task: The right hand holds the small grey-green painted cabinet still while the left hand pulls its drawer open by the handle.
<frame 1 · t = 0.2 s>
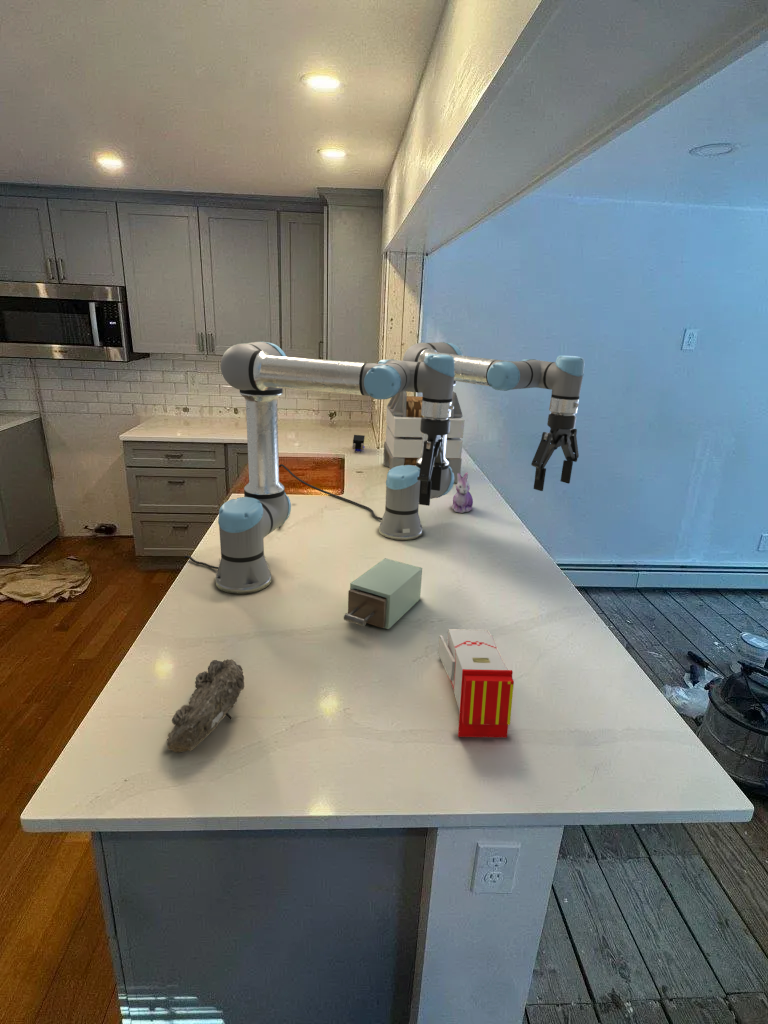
left hand: (429, 497, 151), 28 cm above the counter, tool pointing down, fingers open, 13 cm apart
right hand: (551, 486, 166), 28 cm above the counter, tool pointing down, fingers open, 13 cm apart
white storage organizer: (419, 473, 275), on the counter
toy: (469, 691, 119), on the counter
feather: (286, 516, 211), on the counter
fossil: (212, 717, 108), on the counter
figurine character: (358, 450, 313), on the counter
cabinet: (385, 607, 150), on the counter
figurine: (462, 509, 227), on the counter
drawer: (376, 600, 144), point 5 cm above the counter, slide at 0.6 cm
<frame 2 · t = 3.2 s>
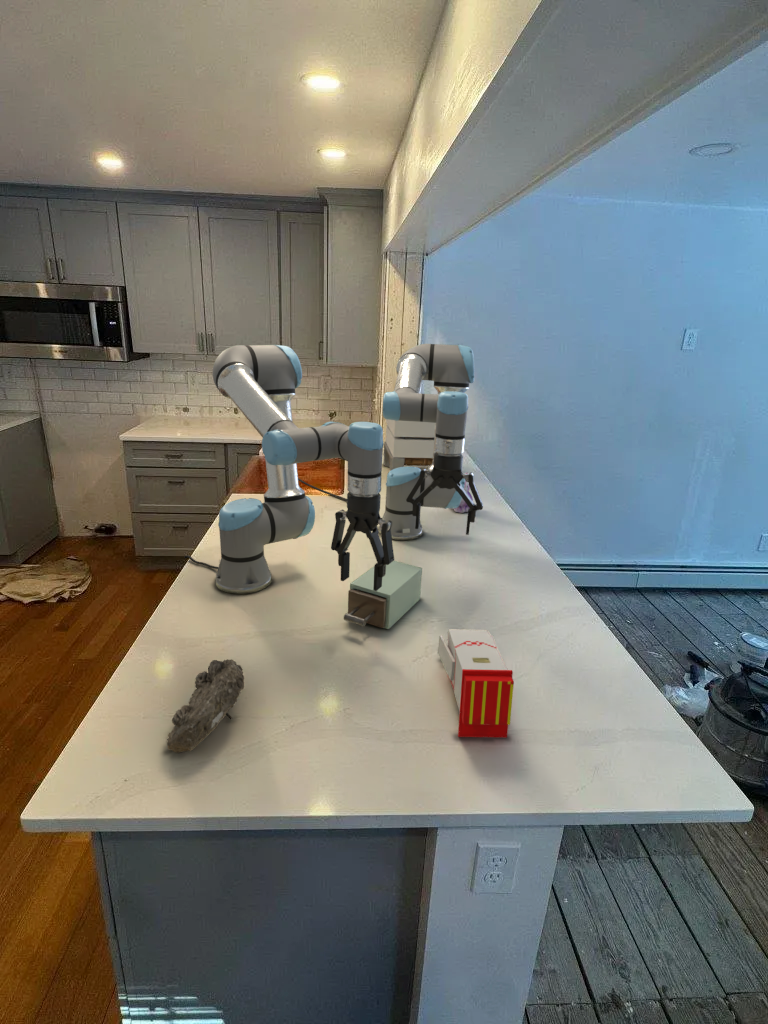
left hand: (361, 583, 134), 13 cm above the counter, tool pointing down, fingers open, 8 cm apart
right hand: (442, 530, 153), 19 cm above the counter, tool pointing down, fingers open, 13 cm apart
nothing on the counter moved.
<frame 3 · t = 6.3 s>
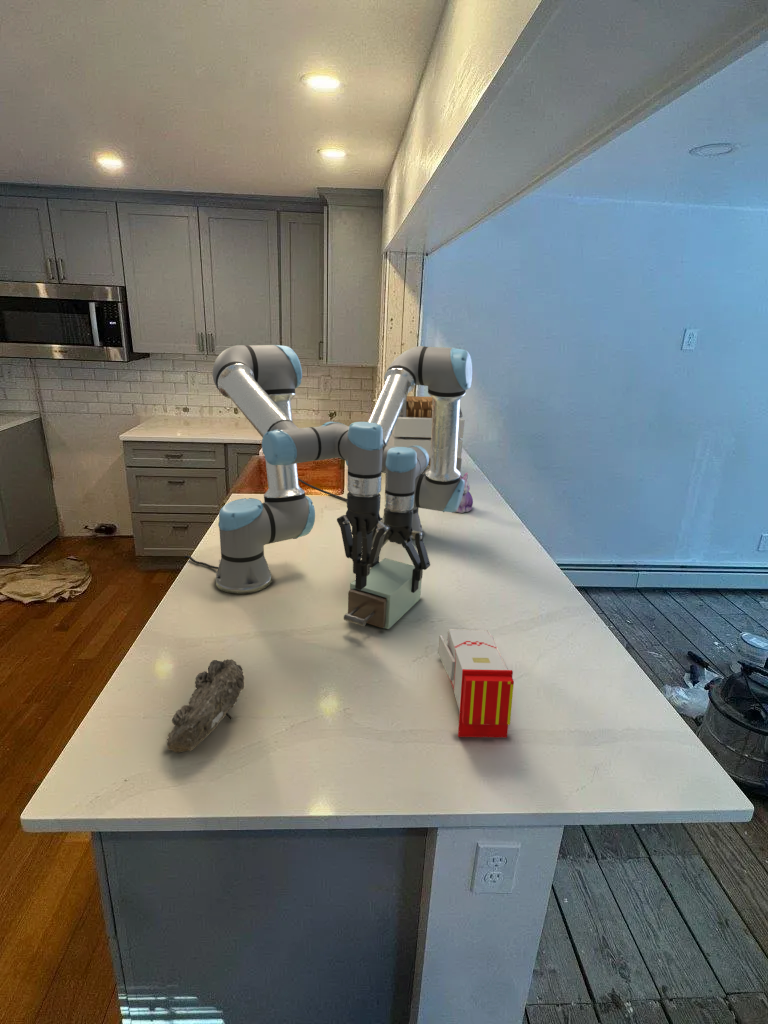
left hand: (360, 586, 135), 12 cm above the counter, tool pointing down, fingers closed
right hand: (394, 584, 152), 5 cm above the counter, tool pointing down, fingers closed on cabinet, 11 cm apart
cabinet: (385, 607, 150), on the counter, touching right hand
everything else where it was.
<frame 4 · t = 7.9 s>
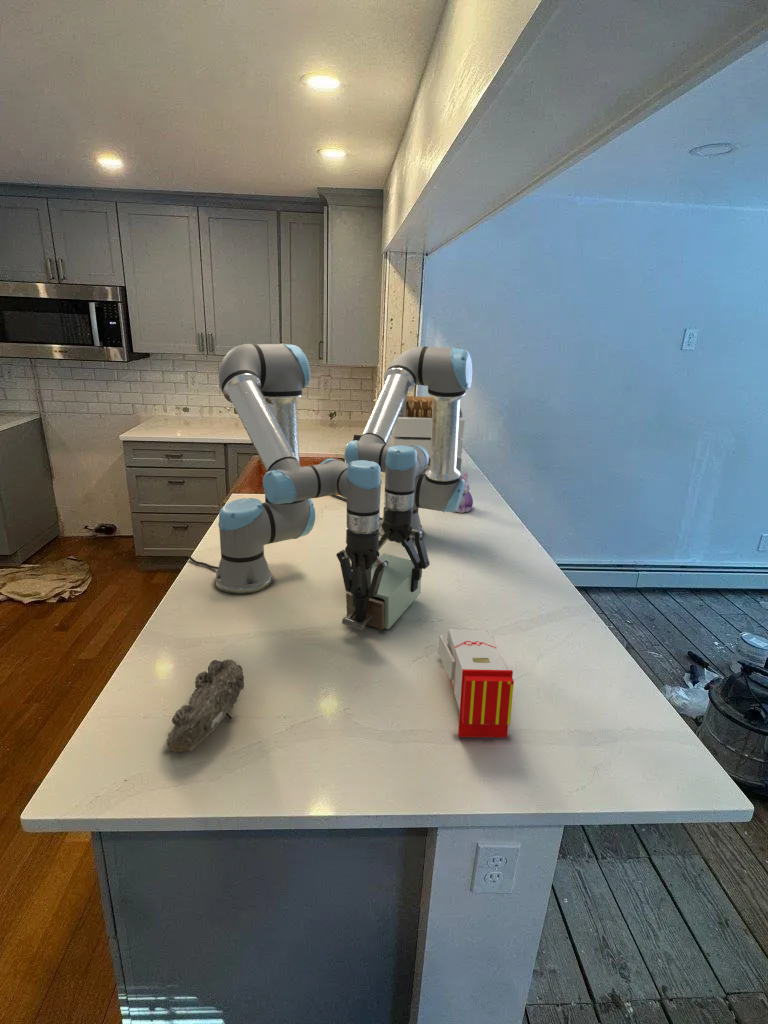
left hand: (360, 619, 137), 4 cm above the counter, tool pointing down, fingers closed
right hand: (393, 584, 152), 5 cm above the counter, tool pointing down, fingers closed on cabinet, 11 cm apart
cabinet: (386, 604, 150), point 1 cm above the counter, tilted 6°, touching right hand
drawer: (375, 600, 143), point 5 cm above the counter, slide at 0.9 cm
everything else where it was.
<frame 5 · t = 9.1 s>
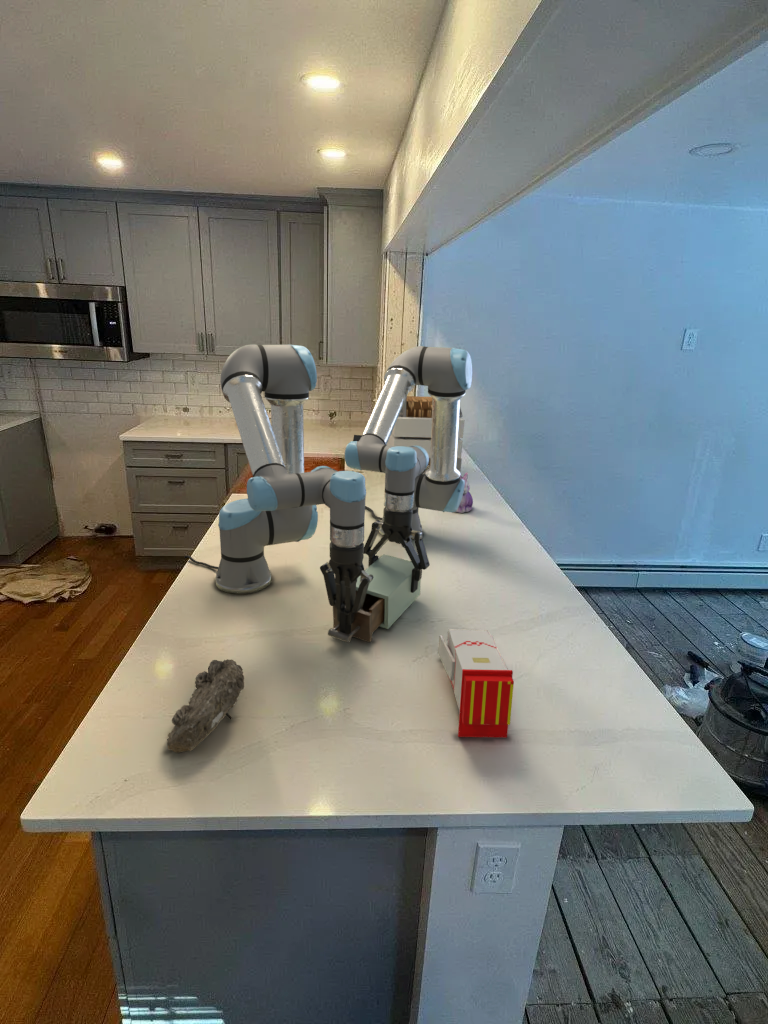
left hand: (345, 634, 133), 3 cm above the counter, tool pointing down, fingers closed
right hand: (393, 584, 152), 5 cm above the counter, tool pointing down, fingers closed on cabinet, 11 cm apart
cabinet: (385, 605, 150), point 1 cm above the counter, touching right hand
drawer: (363, 611, 139), point 5 cm above the counter, slide at 6.8 cm, touching left hand
everything else where it was.
when the right hand's fingers open (5 cm above the counter, at t = 11.0 s): cabinet stays where it is, on the counter.
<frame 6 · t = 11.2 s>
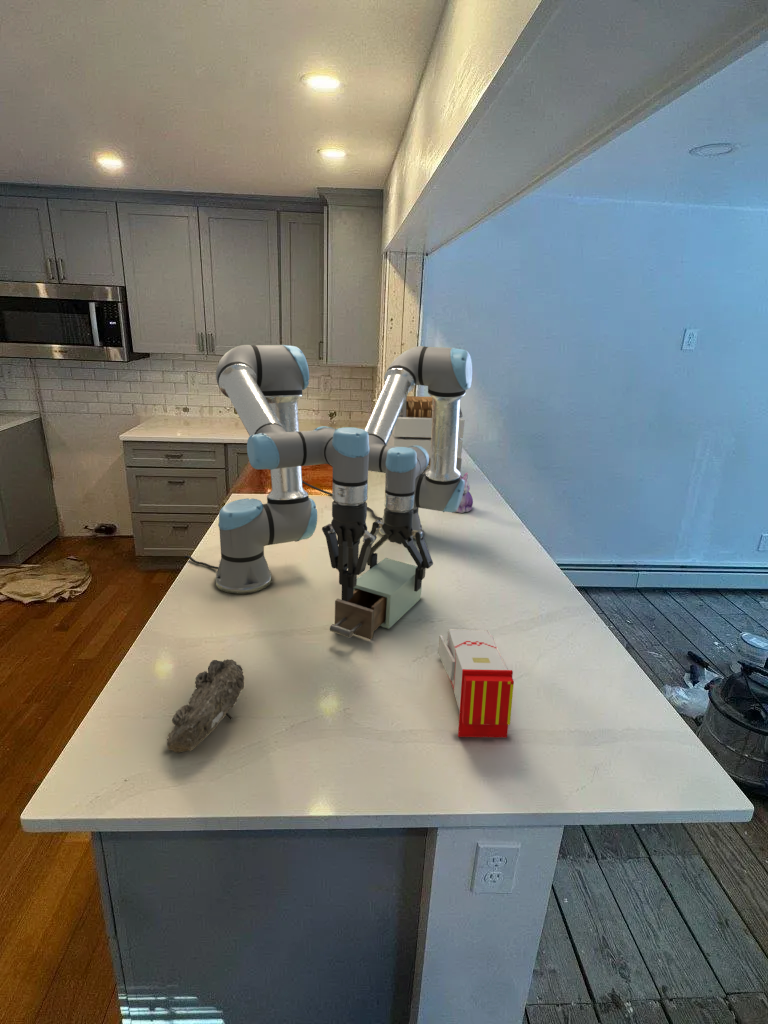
left hand: (347, 598, 130), 12 cm above the counter, tool pointing down, fingers closed
right hand: (394, 582, 152), 5 cm above the counter, tool pointing down, fingers open, 13 cm apart
cabinet: (386, 607, 151), on the counter
drawer: (364, 610, 139), point 5 cm above the counter, slide at 6.8 cm
everything else where it was.
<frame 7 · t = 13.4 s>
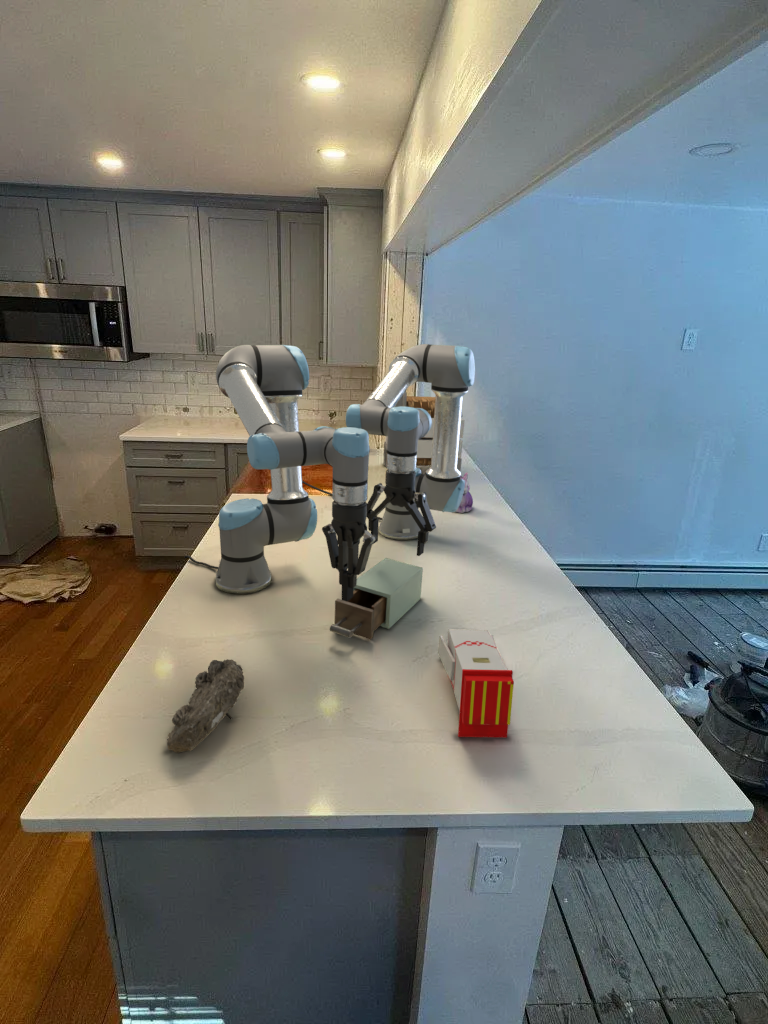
left hand: (347, 598, 130), 12 cm above the counter, tool pointing down, fingers closed
right hand: (396, 548, 149), 16 cm above the counter, tool pointing down, fingers open, 13 cm apart
nothing on the counter moved.
at the end: drawer slide at 6.8 cm; cabinet tilted 0°; cabinet never tilted more than 7° during the clip; cabinet moved 0.2 cm from its start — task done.
